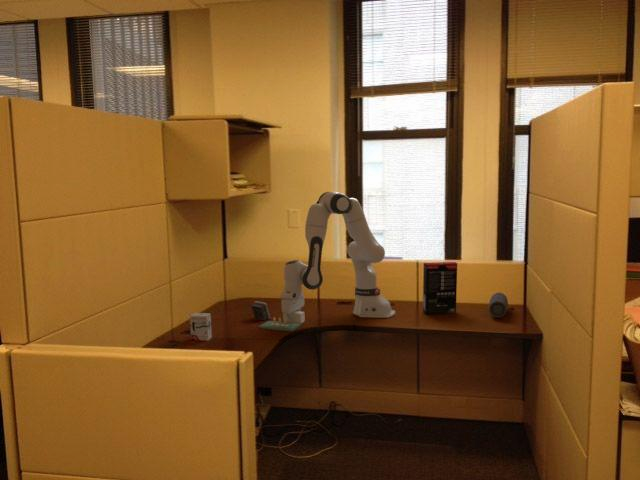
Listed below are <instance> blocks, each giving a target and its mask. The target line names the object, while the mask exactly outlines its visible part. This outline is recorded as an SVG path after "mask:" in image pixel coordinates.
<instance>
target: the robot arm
mask: <svg viewBox="0 0 640 480" xmlns="http://www.w3.org/2000/svg"><path fill="white" fill-rule="evenodd" d="M332 214H333V215H334V214H336V215H342V217H343V220H344V224H345V228H346V230H347V232H348V235H349V237H350V238H351V239H353V241H350V242H349V244H348V245H347V249H346V250H347V251H346V252H347V255H348V256H349V258H350V260H351V262H352V265H353V268H354V274H355V287H354V297H355V299H354V300H355V303H354V308H353V313H352V314H353V315H355V316H358V317H360V318H377V319H378V318H380V319H381V318H382V319H383V318H385V319H387V318H392V317H393V316H395V315H396V310H393V309H392V306H391V303H390V301H389V299H387V298H386V297H384V296H382V294H381V288H379V287H378V286H377V272H376V270H375V269H374V267H373V264H378V263H380V262H382V261H383V260H384V258H385V255H386V250H385V248H384V247H383V245H381V244H380V242H378V240H377V239H376V237H375V236H374V234H373V232H372V230H371V229H370V227H369V224H368V220H367V218H366V216H365V212H364V210H363V207H362V205H361V203H360V201H359V200H358V199H357V198H355V197H349V196H347V195H346V194H344V193H342V192H337V191H325V192H323V193H322V194H321V195H320V196H319V197H318V200H317V201H316V203H313V204H312V205H310V207H309V209H308V213H307V216H306V221H305V229H304V230H305V231H304V234H305V240H306V242H307V246H308V261H307V264H305V263H304V262H302V261H300V259H299V260H298V259H294V260H293V259H292V260H291V261H290V260H289V261H288V262H286V263H285V265H284V267H283V268H284V269H283V277H284V279H283V280H284V286H283V287H284V289H283V291H282V292H281V294H280V299H281V303H280V304H281V313H282V315H283V314H286V315H287V317H288V321H292V317H291V312H293V311H301V312H302V308H303V307H304V306H305V295H304V293H303V290H302V289H303V286H304V287H305V288H306V289H308V290H317V289H319V288H320V287H321V285H322V284H323V281H324V278H323V275H322V271H321V265H322V264H321V263H322V255H323V254H322V253H323V247H324V243H325V240H326V235H327V230H328V221H329V219H330V216H331V215H332ZM302 285H303V286H302Z"/></svg>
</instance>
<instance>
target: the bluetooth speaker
mask: <svg viewBox="0 0 640 480" xmlns="http://www.w3.org/2000/svg"><path fill="white" fill-rule="evenodd" d="M508 307H509V301H508V297H507V296H506V295H505V294H504V293H502V292H496V293H494V294H493V295H492V296H491V298H489V304H488V311H489V313H490V314H491V316H492V317H494V318H502V317H504V316H505V315H506V314H507V310H508Z"/></svg>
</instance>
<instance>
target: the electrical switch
mask: <svg viewBox="0 0 640 480" xmlns="http://www.w3.org/2000/svg"><path fill="white" fill-rule="evenodd" d="M251 310H252V312H253V316H254V318H255V319H258V320H261V321H266V320H270V319H271V315H270V311H269V307H268V304H267V303H266V302H263V301H257V300H255V301H253V304H251Z"/></svg>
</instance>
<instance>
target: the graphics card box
mask: <svg viewBox="0 0 640 480" xmlns="http://www.w3.org/2000/svg"><path fill="white" fill-rule="evenodd" d="M457 283H458V263H457V262H455V261H445V262H444V261H443V262H441V261H439V262H424V263H423V283H422V285H423V286H422V290H423V291H422V312H423V313H424V314H426V315H436V314H437V315H438V314H439V315H440V314H456V313H457V290H458V289H457Z"/></svg>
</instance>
